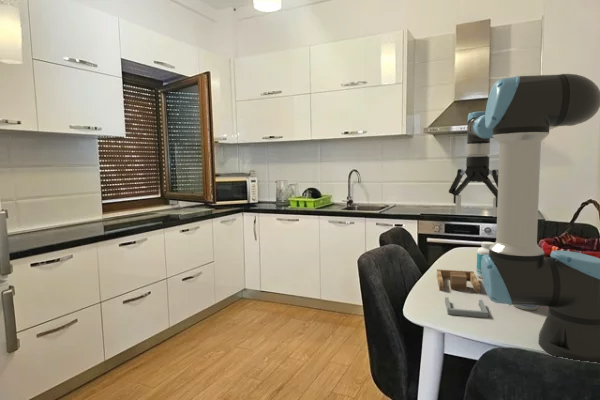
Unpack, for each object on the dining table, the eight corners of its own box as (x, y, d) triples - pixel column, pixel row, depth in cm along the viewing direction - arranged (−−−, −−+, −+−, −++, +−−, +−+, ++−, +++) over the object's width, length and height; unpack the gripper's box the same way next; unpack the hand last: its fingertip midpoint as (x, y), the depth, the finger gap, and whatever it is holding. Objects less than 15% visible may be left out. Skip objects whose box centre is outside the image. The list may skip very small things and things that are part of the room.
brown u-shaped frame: (479, 293, 133) (480, 284, 133) (439, 290, 136) (439, 282, 136) (472, 279, 148) (473, 271, 148) (436, 276, 152) (436, 269, 151)
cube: (466, 290, 136) (466, 276, 135) (451, 289, 137) (451, 275, 137) (464, 286, 141) (464, 272, 140) (449, 285, 142) (450, 271, 142)
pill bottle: (496, 281, 145) (497, 245, 144) (475, 278, 149) (476, 243, 148) (498, 275, 152) (499, 241, 150) (477, 273, 156) (478, 240, 154)
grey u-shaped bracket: (488, 317, 113) (488, 312, 112) (447, 314, 116) (447, 309, 116) (482, 304, 123) (482, 300, 122) (444, 301, 126) (445, 297, 126)
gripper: (519, 155, 133) (516, 216, 135) (449, 155, 151) (448, 209, 154) (510, 155, 128) (508, 219, 131) (440, 156, 146) (439, 212, 149)
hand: (476, 214), depth 142 cm, fingers open, 13 cm apart
